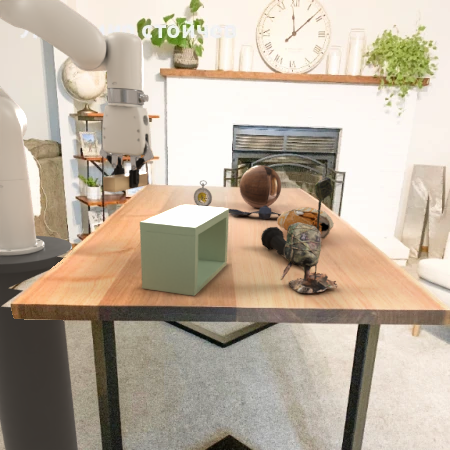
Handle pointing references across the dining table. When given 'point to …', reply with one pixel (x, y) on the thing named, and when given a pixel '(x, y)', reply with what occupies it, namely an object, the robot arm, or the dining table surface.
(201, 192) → the pocket watch
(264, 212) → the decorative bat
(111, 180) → the stick
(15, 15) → the robot arm
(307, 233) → the plant with pod
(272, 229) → the microphone
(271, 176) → the wooden sphere
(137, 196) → the dining table surface
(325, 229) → the nautilus
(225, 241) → the shelf
